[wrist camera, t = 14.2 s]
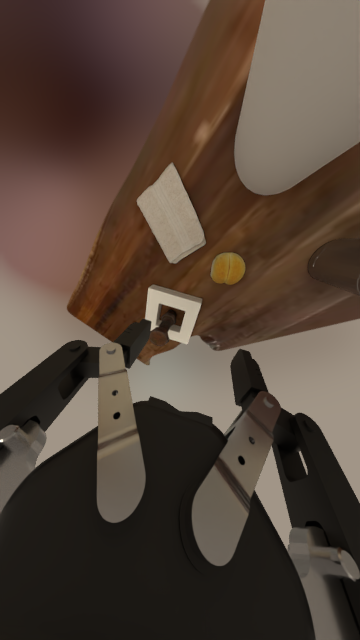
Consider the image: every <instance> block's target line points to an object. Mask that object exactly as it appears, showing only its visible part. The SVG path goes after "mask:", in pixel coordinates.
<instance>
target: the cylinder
mask: <svg viewBox="0 0 360 640" xmlns="http://www.w3.org/2000/svg"><path fill="white" fill-rule="evenodd" d="M359 142H360V0H265V4H264V9H263V13H262V18H261V22H260V27H259V32H258V36H257V41H256V45H255V50H254V54H253V59H252V63H251V68H250V73H249V77H248V82H247V86H246V91H245V95H244V100H243V104H242V109H241V114H240V118H239V123H238V127H237V132H236V136H235V148H234V157H235V166H236V170H237V172H238V175H239V178H240V180H241V181H242V183H243V184H244V185H245V186H246V188H247V189H249V190H251V191H252V192H254V193H255V194H260V195H273V194H278V193H281V192H283V191H286V190H288V189H290V188H292V187H293V186H295V185H296V184H298V183H299V182H301V181H302V180H304V179H305V178H307V177H308V176H310V175H311V174H312V173H314V172H315V171H317V170H318V169H320V168H321V167H323V166H324V165H326V164H327V163H329V162H330V161H332V160H333V159H335V158H336V157H338V156H339V155H341V154H342V153H344V152H345V151H347V150H348V149H350V148H351V147H353V146H354V145H356V144H357V143H359Z"/></svg>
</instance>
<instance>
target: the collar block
mask: <svg viewBox="0 0 360 640" xmlns="http://www.w3.org/2000/svg"><path fill="white" fill-rule="evenodd" d="M162 304H164V305H167V306H170V307H174V308H177V309H180V310H184V311H186V312H185V315H184V319H183V323H182V326H181V327H180V326H177V325H172V326H171V327H170V329H169V331H168V336H169V339H171V340H175V341H178V342H181V343H184V344H188V342H189V339H190V336H191V333H192V330H193V327H194V324H195V322H196V319H197V316H198V313H199V310H200V307H201V304H202V299H201V298H198V297H195V296H191V295H188V294H184V293H181V292H177V291H174V290H171V289H167V288H164V287H160V286H157V285H154V284H153V285H152V286H150V287H149V288H148V297H147V307H146V317H145V319H146V320H149V321H151V322H152V323H151V331H152V330H153V329H155V328H156V327H159V325H160V323H161V322H162V321H161V320H159V318H160V312H161V306H162Z"/></svg>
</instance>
